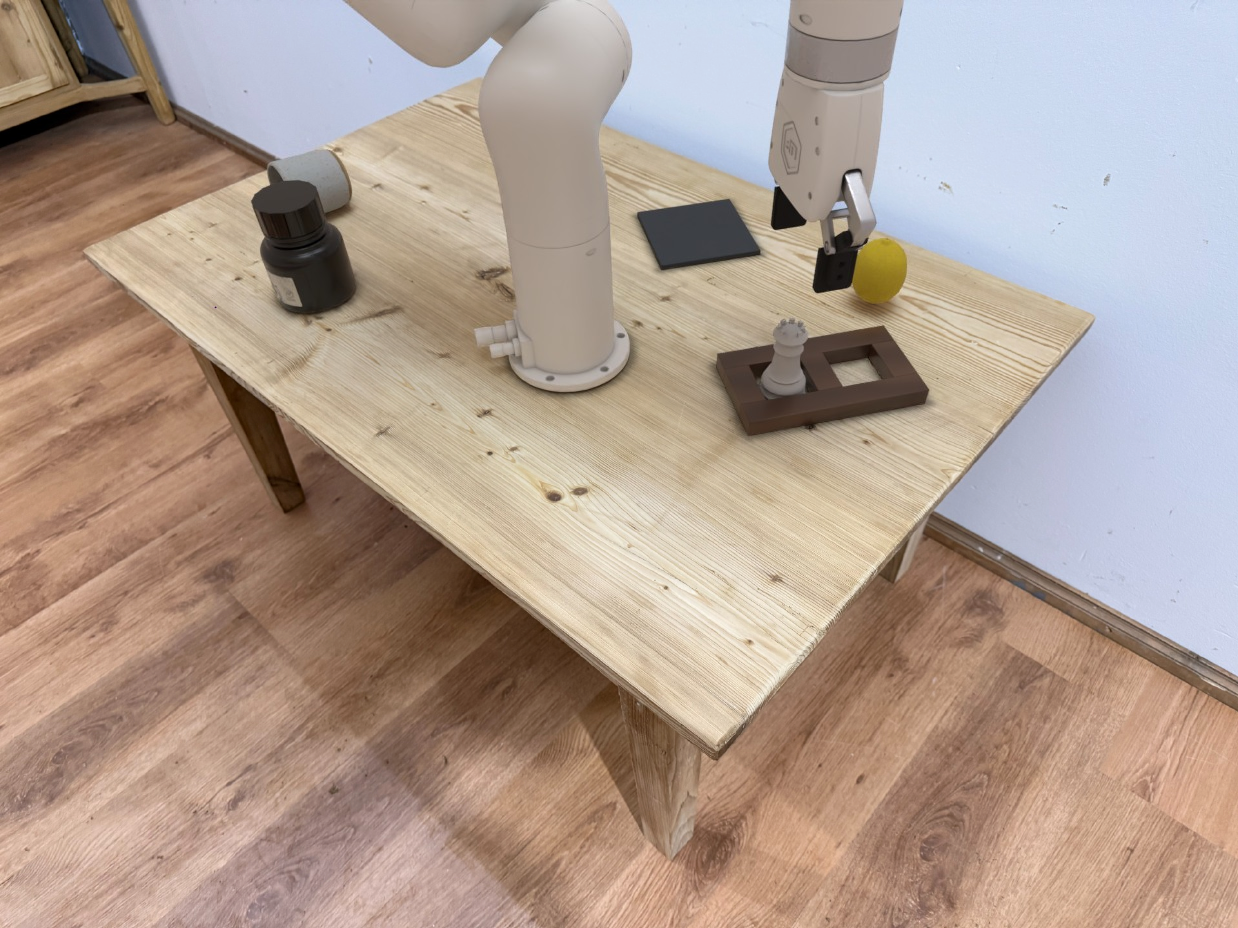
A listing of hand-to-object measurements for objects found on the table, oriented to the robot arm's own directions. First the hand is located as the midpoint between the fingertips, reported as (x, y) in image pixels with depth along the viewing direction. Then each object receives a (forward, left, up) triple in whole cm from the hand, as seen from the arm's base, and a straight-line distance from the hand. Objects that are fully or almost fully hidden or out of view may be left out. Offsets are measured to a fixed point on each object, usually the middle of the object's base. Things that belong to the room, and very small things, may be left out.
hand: (808, 256), depth 72 cm
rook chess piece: (-1, 0, -16) cm, 16 cm away
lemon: (+14, +11, -16) cm, 23 cm away
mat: (-1, +29, -15) cm, 33 cm away
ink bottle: (-46, +29, -16) cm, 56 cm away
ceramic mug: (-47, +48, -16) cm, 69 cm away
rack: (+3, 0, -15) cm, 16 cm away
